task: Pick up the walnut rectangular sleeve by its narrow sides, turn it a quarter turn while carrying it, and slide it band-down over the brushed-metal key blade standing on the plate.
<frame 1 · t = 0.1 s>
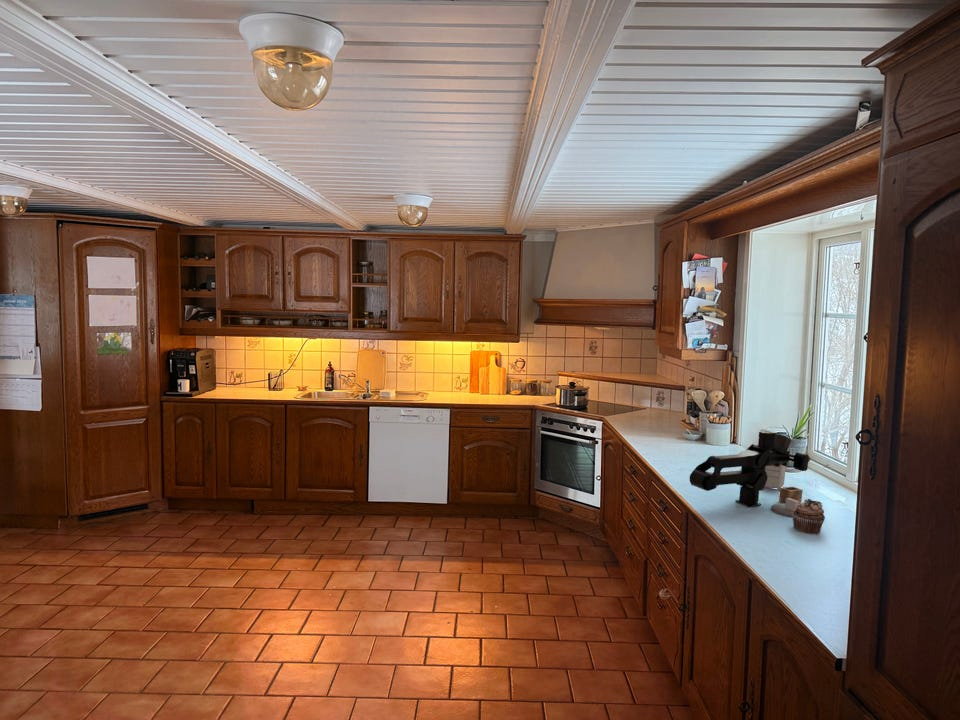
hand: (799, 455, 252), 17 cm above the counter, tool horizontal, fingers open, 9 cm apart
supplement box: (772, 487, 268), on the counter
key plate: (791, 512, 235), on the counter
walnut sleeve: (790, 501, 248), on the counter
cupcake: (806, 530, 217), on the counter
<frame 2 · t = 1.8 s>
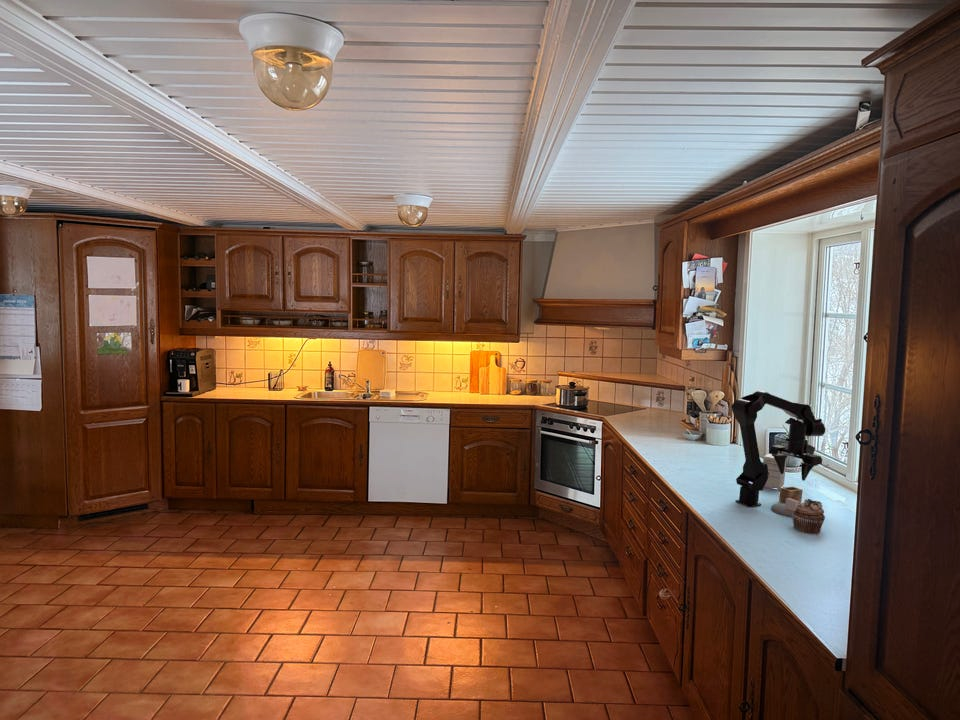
hand: (792, 477, 247), 9 cm above the counter, tool pointing down, fingers open, 9 cm apart
nothing on the counter moved.
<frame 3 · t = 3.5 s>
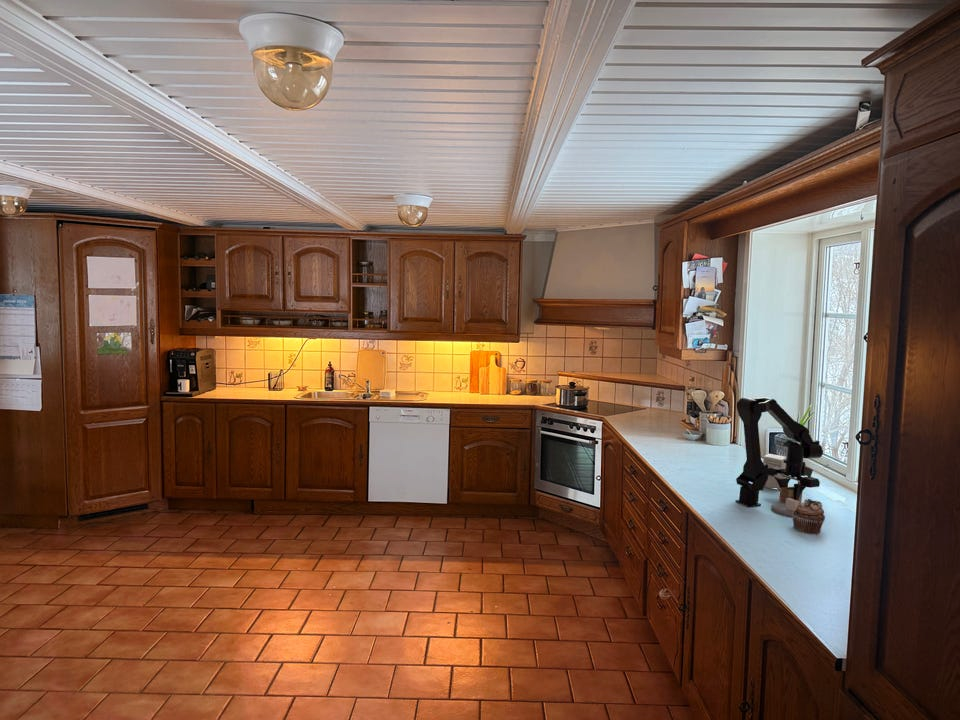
hand: (790, 499, 248), 1 cm above the counter, tool pointing down, fingers closed on walnut sleeve, 4 cm apart
walnut sleeve: (790, 501, 248), on the counter, touching gripper
everything else where it was.
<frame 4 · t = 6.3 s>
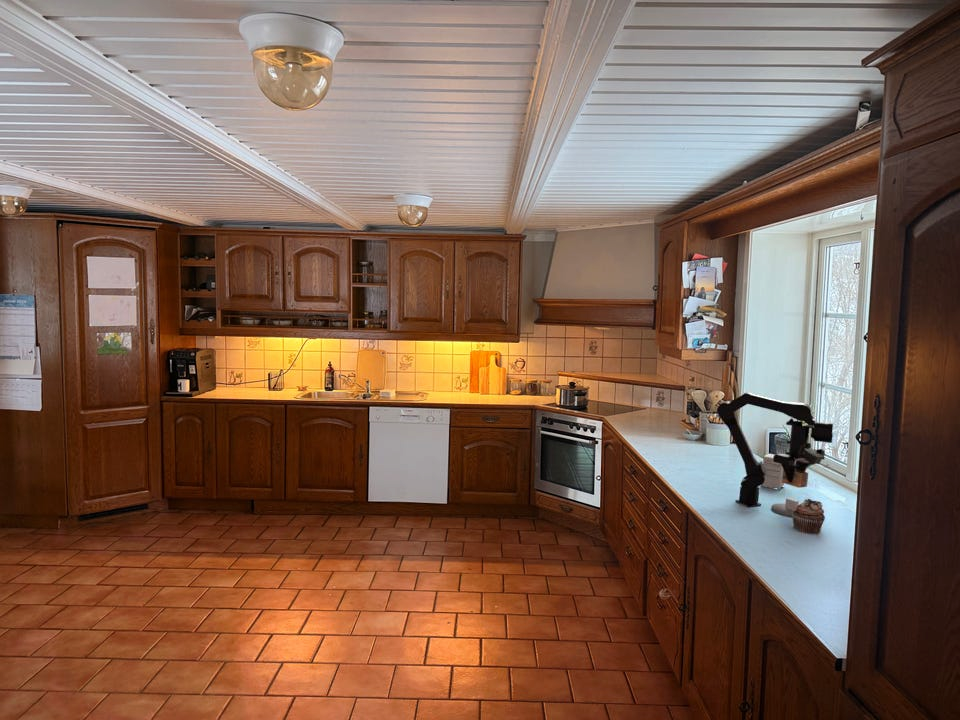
hand: (794, 481, 235), 11 cm above the counter, tool pointing down, fingers closed on walnut sleeve, 4 cm apart
walnut sleeve: (794, 484, 235), point 10 cm above the counter, touching gripper
everything else where it was.
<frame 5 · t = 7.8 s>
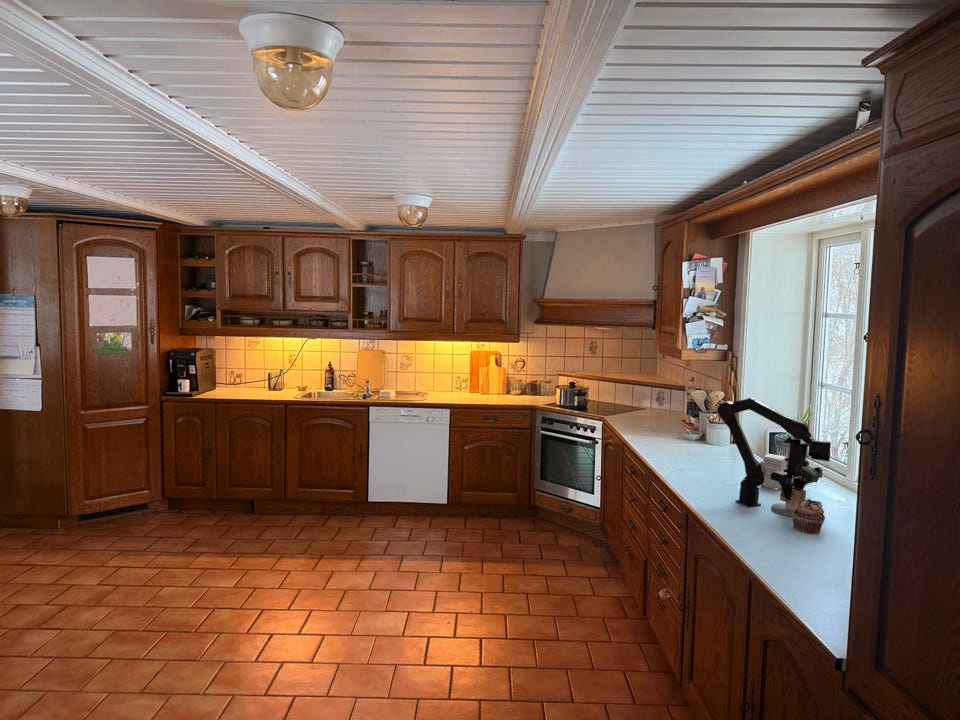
hand: (792, 499, 235), 5 cm above the counter, tool pointing down, fingers closed on walnut sleeve, 4 cm apart
walnut sleeve: (792, 502, 235), point 4 cm above the counter, touching gripper
everything else where it was.
when the fingers open (3 cm above the counter, at t = 9.2 s): walnut sleeve drops 1 cm, resting on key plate.
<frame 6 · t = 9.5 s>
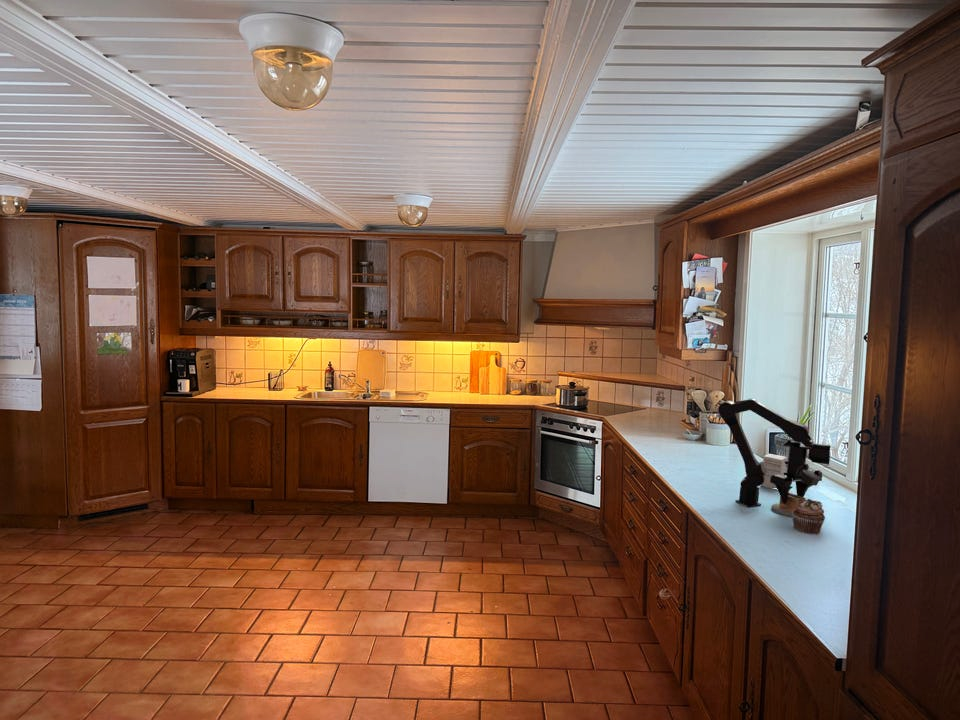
hand: (792, 502, 235), 3 cm above the counter, tool pointing down, fingers open, 8 cm apart
walnut sleeve: (791, 509, 235), point 1 cm above the counter, touching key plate
everything else where it was.
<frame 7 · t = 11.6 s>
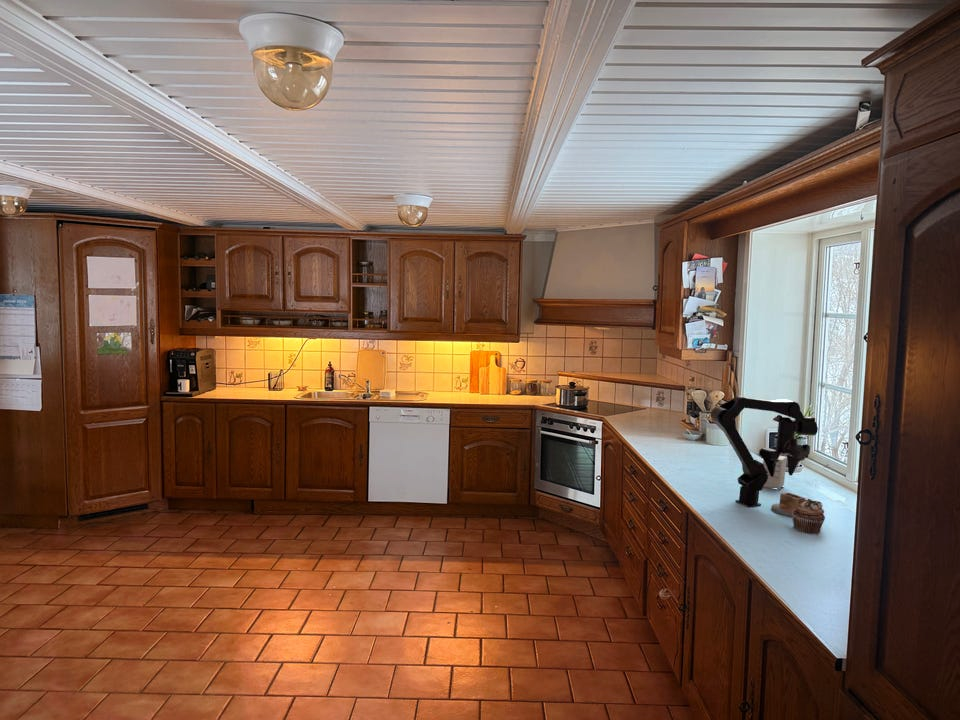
hand: (781, 475, 242), 11 cm above the counter, tool pointing down, fingers open, 9 cm apart
nothing on the counter moved.
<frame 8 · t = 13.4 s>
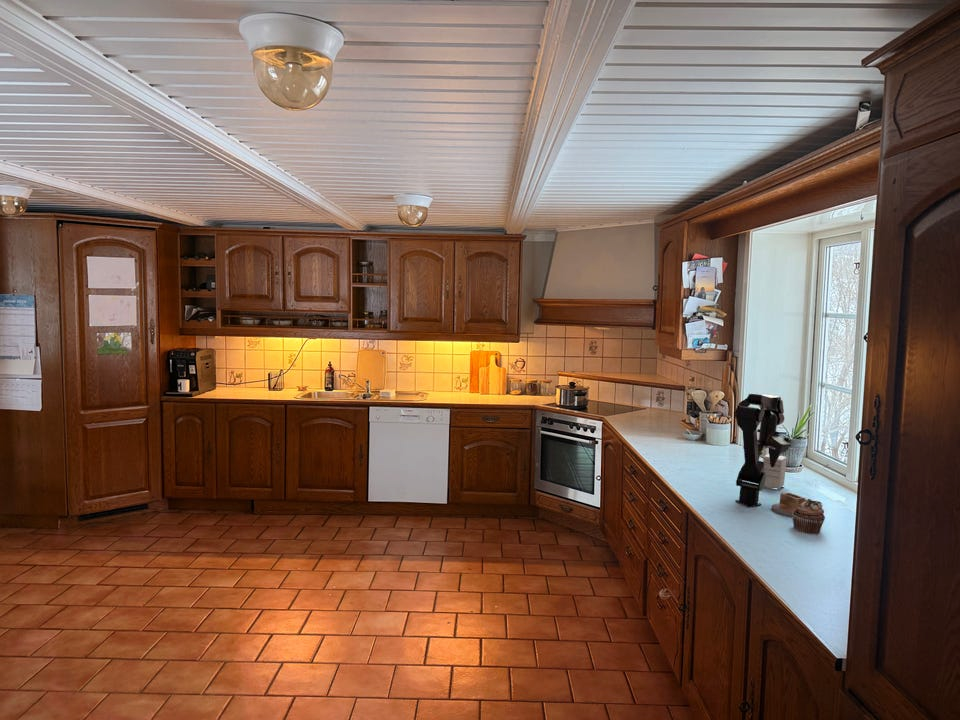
hand: (763, 467, 253), 11 cm above the counter, tool pointing down, fingers open, 9 cm apart
nothing on the counter moved.
at the end: walnut sleeve 0.1 cm off-centre on the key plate, point 1.0 cm above the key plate's base; walnut sleeve tilted 0°; the gripper is holding nothing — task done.
